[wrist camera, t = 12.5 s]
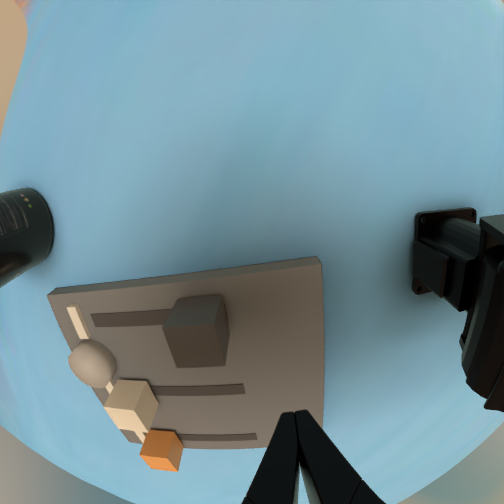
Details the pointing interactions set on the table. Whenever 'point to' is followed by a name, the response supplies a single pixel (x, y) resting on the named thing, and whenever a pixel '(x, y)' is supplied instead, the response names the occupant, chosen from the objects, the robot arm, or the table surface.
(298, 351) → the control board
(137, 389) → the ivory slider
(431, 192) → the table surface
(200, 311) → the dark brown slider
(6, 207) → the supplement bottle
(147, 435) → the orange slider
